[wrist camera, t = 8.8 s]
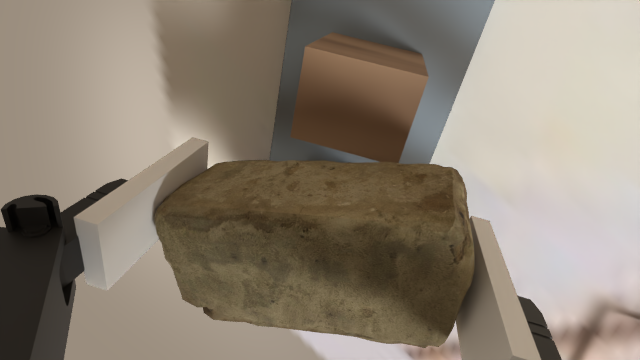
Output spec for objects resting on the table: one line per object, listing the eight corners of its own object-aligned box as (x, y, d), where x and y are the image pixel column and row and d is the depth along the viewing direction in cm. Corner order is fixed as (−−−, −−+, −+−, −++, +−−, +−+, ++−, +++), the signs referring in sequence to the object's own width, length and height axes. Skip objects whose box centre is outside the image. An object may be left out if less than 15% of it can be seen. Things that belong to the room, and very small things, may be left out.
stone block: (204, 153, 16) (132, 209, 12) (467, 151, 14) (497, 223, 9) (229, 252, 19) (178, 328, 15) (455, 266, 16) (474, 364, 12)
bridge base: (380, 279, 28) (373, 358, 22) (261, 243, 29) (223, 309, 23) (507, -43, 17) (564, -64, 11) (309, -86, 18) (259, -127, 12)
